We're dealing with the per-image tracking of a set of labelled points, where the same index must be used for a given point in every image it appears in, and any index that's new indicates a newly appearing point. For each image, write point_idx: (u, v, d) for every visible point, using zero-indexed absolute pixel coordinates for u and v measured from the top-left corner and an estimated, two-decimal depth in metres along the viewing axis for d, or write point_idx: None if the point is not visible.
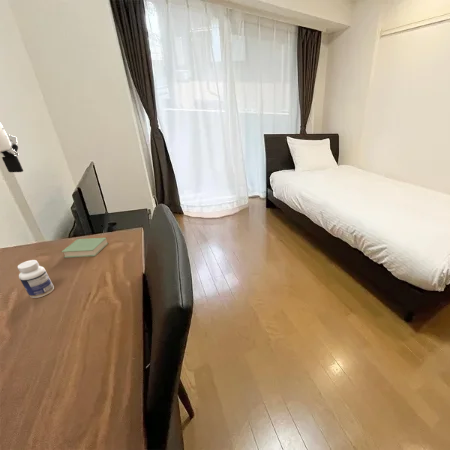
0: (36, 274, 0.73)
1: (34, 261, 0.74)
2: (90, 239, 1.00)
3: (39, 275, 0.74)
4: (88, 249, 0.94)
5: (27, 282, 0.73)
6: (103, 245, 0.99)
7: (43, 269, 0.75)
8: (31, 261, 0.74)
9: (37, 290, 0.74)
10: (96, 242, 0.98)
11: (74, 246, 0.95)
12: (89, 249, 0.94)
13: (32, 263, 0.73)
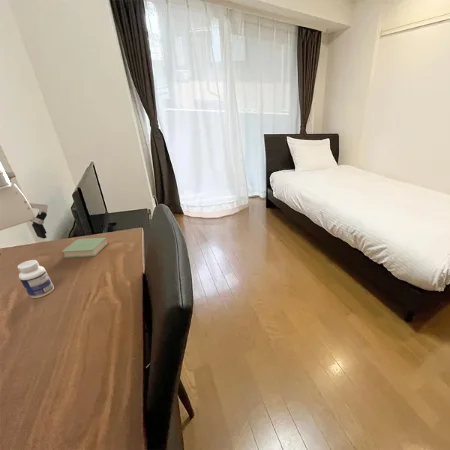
0: (36, 274, 0.73)
1: (34, 261, 0.74)
2: (90, 239, 1.00)
3: (39, 275, 0.74)
4: (88, 249, 0.94)
5: (27, 282, 0.73)
6: (103, 245, 0.99)
7: (43, 269, 0.75)
8: (31, 261, 0.74)
9: (37, 290, 0.74)
10: (96, 242, 0.98)
11: (74, 246, 0.95)
12: (89, 249, 0.94)
13: (32, 263, 0.73)
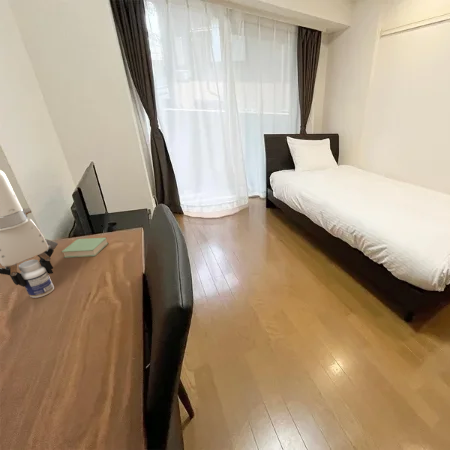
0: (37, 273, 0.73)
1: (35, 261, 0.74)
2: (90, 239, 1.00)
3: (40, 275, 0.74)
4: (88, 249, 0.94)
5: (28, 282, 0.73)
6: (103, 245, 0.99)
7: (44, 269, 0.75)
8: (32, 261, 0.74)
9: (37, 290, 0.74)
10: (96, 242, 0.98)
11: (74, 246, 0.95)
12: (89, 249, 0.94)
13: (33, 263, 0.73)
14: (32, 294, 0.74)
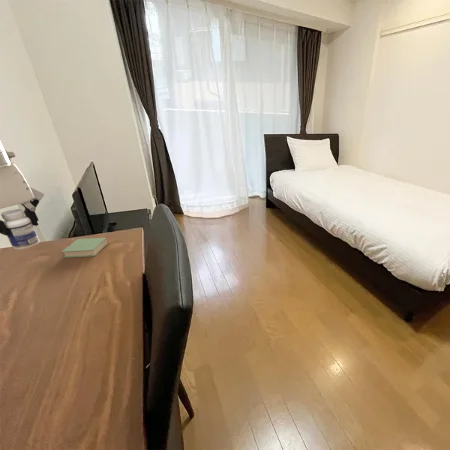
0: (20, 223, 0.69)
1: (19, 210, 0.70)
2: (90, 239, 1.00)
3: (24, 225, 0.70)
4: (88, 249, 0.94)
5: (10, 231, 0.69)
6: (103, 245, 0.99)
7: (28, 219, 0.72)
8: (16, 210, 0.70)
9: (21, 241, 0.70)
10: (96, 242, 0.98)
11: (74, 246, 0.95)
12: (89, 249, 0.94)
13: (17, 211, 0.70)
14: (15, 245, 0.71)
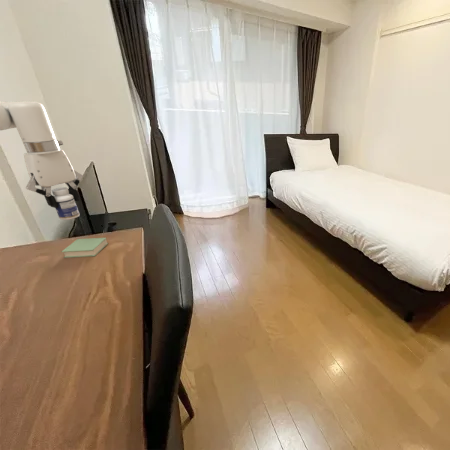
0: (67, 198, 0.86)
1: (65, 188, 0.87)
2: (90, 239, 1.00)
3: (69, 200, 0.87)
4: (88, 249, 0.94)
5: (59, 204, 0.86)
6: (103, 245, 0.99)
7: (72, 195, 0.88)
8: (62, 188, 0.87)
9: (66, 212, 0.87)
10: (96, 242, 0.98)
11: (74, 246, 0.95)
12: (89, 249, 0.94)
13: (63, 189, 0.87)
14: (62, 216, 0.87)
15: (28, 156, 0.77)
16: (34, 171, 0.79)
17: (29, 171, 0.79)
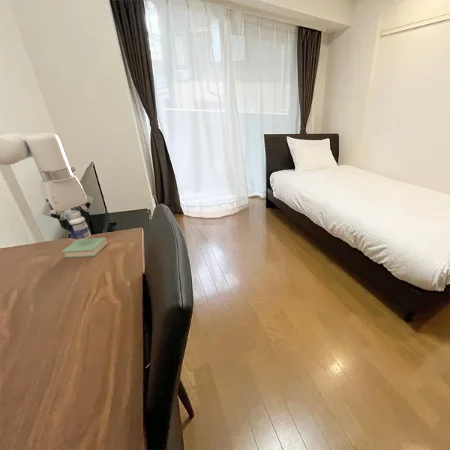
0: (79, 220, 0.92)
1: (77, 211, 0.92)
2: (90, 239, 1.00)
3: (81, 222, 0.92)
4: (88, 249, 0.94)
5: (72, 227, 0.91)
6: (103, 245, 0.99)
7: (83, 218, 0.94)
8: (75, 211, 0.92)
9: (79, 234, 0.93)
10: (96, 242, 0.98)
11: (74, 246, 0.95)
12: (89, 249, 0.94)
13: (76, 212, 0.92)
14: (74, 237, 0.93)
15: (44, 184, 0.82)
16: (49, 198, 0.84)
17: (44, 197, 0.84)
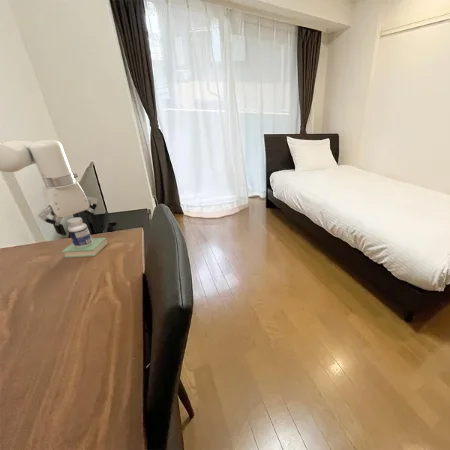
0: (81, 227, 0.93)
1: (79, 218, 0.93)
2: None
3: (83, 229, 0.93)
4: (88, 249, 0.94)
5: (74, 234, 0.92)
6: (103, 245, 0.99)
7: (85, 225, 0.95)
8: (76, 218, 0.93)
9: (81, 241, 0.94)
10: (96, 242, 0.98)
11: (74, 246, 0.95)
12: (89, 249, 0.94)
13: (78, 219, 0.93)
14: (77, 244, 0.94)
15: (46, 191, 0.83)
16: (52, 204, 0.85)
17: (47, 203, 0.85)
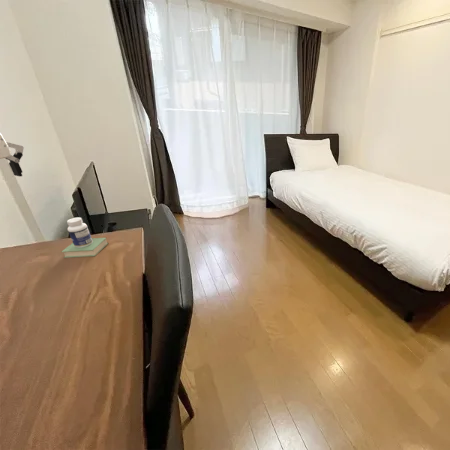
0: (81, 227, 0.93)
1: (79, 218, 0.93)
2: None
3: (83, 229, 0.93)
4: (88, 249, 0.94)
5: (74, 234, 0.92)
6: (103, 245, 0.99)
7: (85, 225, 0.95)
8: (76, 218, 0.93)
9: (81, 241, 0.94)
10: (96, 242, 0.98)
11: (74, 246, 0.95)
12: (89, 249, 0.94)
13: (78, 219, 0.93)
14: (77, 244, 0.94)
15: None
16: None
17: None
